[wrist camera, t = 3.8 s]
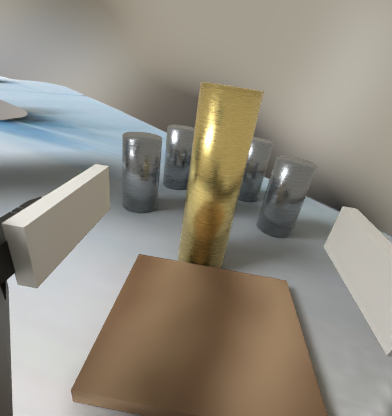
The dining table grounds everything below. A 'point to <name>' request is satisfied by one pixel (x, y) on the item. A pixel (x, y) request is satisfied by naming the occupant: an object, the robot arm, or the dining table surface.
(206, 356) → the board
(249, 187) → the spacers
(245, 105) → the cylinder
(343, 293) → the dining table surface
